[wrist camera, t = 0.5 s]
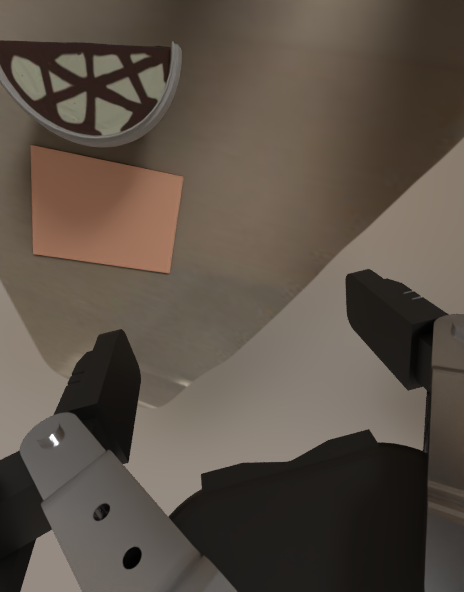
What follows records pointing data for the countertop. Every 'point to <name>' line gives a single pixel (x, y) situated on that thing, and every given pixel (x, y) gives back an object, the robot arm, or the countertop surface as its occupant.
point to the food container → (92, 87)
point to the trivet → (103, 210)
